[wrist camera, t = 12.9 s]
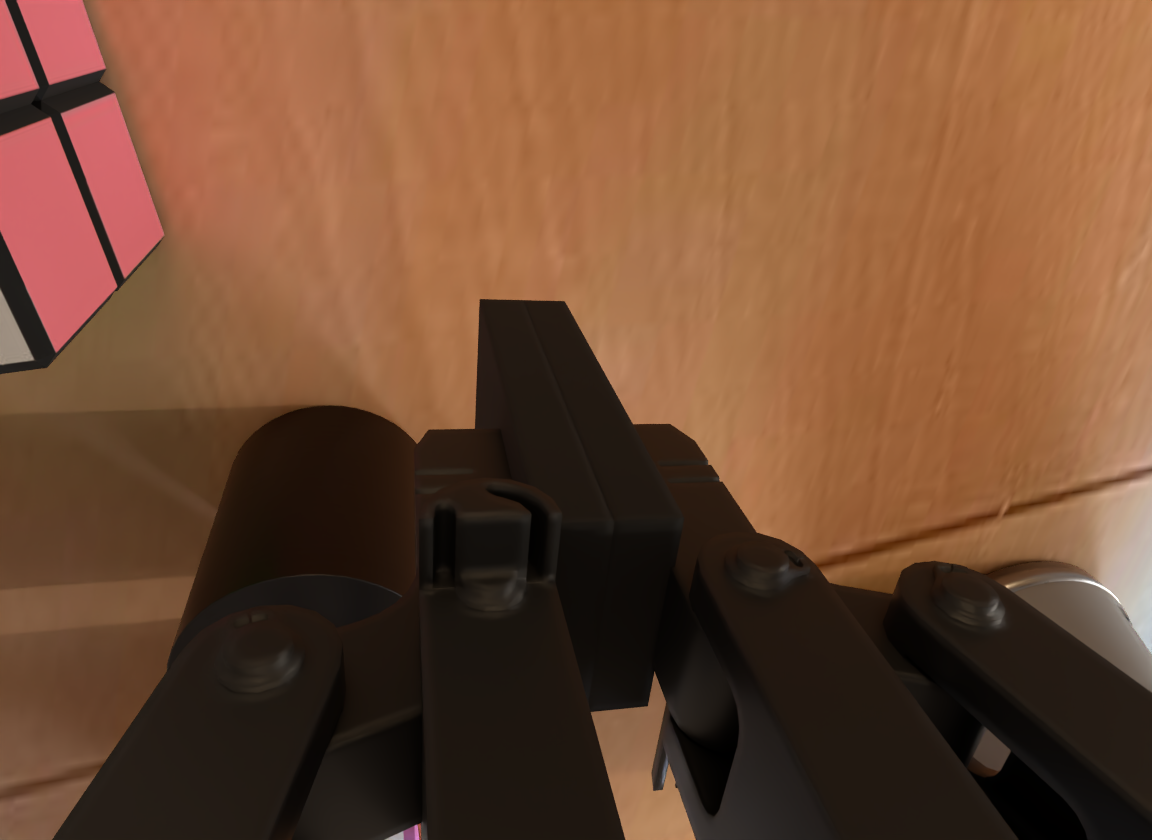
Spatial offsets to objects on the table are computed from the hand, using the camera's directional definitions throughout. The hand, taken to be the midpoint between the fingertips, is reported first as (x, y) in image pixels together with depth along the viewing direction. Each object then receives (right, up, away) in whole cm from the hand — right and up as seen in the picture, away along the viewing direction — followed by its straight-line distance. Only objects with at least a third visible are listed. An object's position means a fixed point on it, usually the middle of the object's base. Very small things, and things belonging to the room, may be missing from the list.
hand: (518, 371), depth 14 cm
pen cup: (-9, -4, +17) cm, 20 cm away
